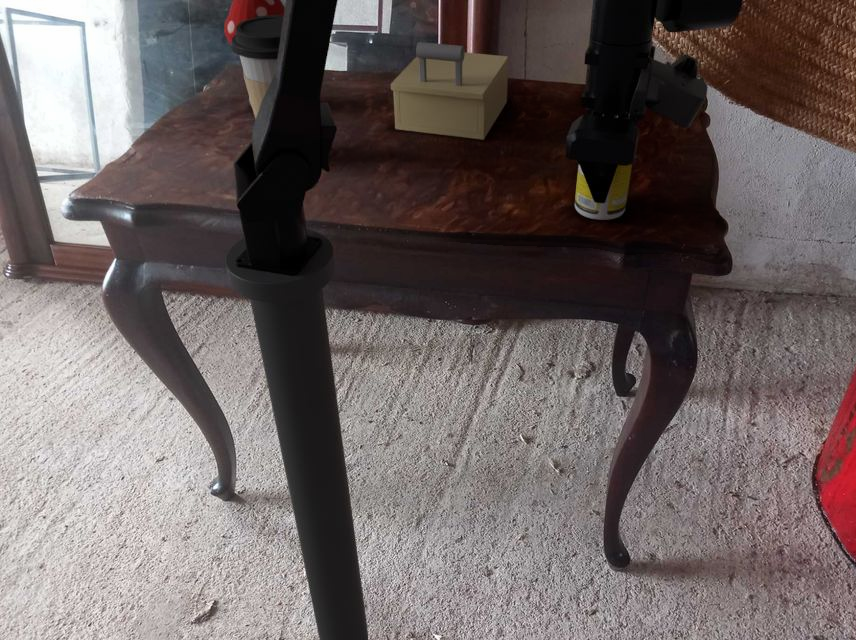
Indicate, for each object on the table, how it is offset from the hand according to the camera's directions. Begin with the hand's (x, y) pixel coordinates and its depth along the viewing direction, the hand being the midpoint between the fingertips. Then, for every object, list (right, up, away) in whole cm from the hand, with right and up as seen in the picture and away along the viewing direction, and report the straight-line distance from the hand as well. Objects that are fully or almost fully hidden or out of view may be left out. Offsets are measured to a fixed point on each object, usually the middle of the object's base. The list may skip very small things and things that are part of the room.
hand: (603, 189), depth 83 cm
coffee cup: (-35, +6, +11) cm, 37 cm away
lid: (-16, +18, +17) cm, 30 cm away
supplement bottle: (0, -2, +2) cm, 3 cm away
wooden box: (-16, +14, +21) cm, 30 cm away
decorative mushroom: (-40, +15, +23) cm, 49 cm away
